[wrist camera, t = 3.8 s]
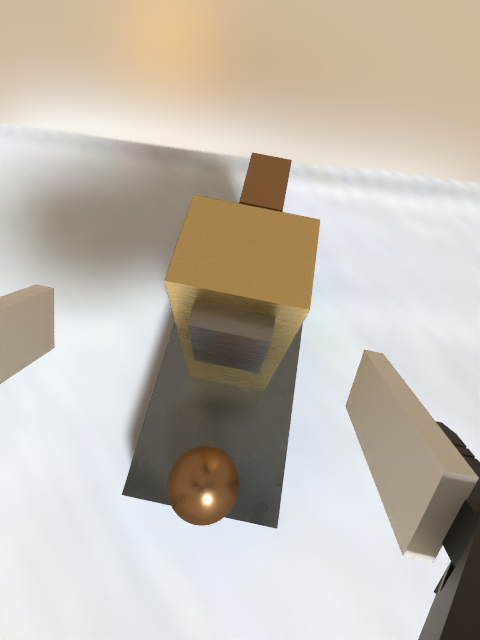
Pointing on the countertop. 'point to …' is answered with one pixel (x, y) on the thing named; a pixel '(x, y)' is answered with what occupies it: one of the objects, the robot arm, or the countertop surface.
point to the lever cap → (240, 288)
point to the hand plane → (219, 419)
